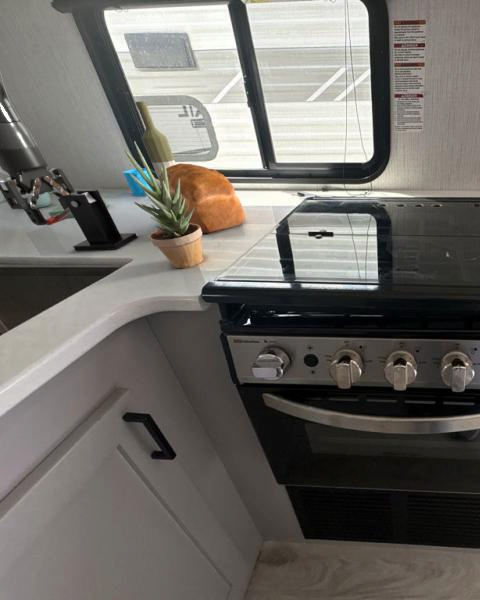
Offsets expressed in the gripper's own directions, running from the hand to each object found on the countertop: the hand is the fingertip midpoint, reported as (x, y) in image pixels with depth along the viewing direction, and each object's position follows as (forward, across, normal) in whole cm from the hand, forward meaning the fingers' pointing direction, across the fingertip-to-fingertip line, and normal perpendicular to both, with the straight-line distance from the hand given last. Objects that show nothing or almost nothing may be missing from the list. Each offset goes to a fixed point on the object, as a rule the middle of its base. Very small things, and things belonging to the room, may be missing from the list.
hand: (57, 218), depth 80 cm
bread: (+7, -16, +27) cm, 32 cm away
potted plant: (+7, +13, +36) cm, 39 cm away
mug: (+7, -50, -12) cm, 52 cm away
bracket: (+7, 0, +9) cm, 11 cm away
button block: (+7, -28, -20) cm, 35 cm away
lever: (-1, 0, +5) cm, 5 cm away
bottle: (+7, -43, +3) cm, 44 cm away
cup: (+7, -37, -40) cm, 55 cm away
